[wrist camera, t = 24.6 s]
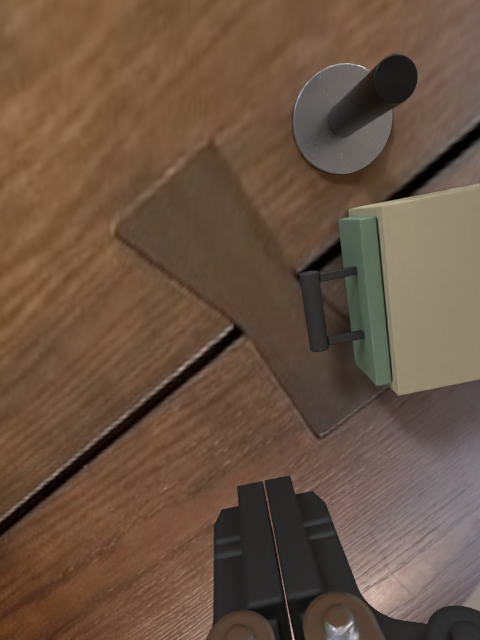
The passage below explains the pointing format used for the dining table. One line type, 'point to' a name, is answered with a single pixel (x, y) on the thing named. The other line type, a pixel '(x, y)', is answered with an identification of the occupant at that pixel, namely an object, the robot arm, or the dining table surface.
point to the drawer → (354, 299)
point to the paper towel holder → (350, 112)
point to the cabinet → (431, 286)
